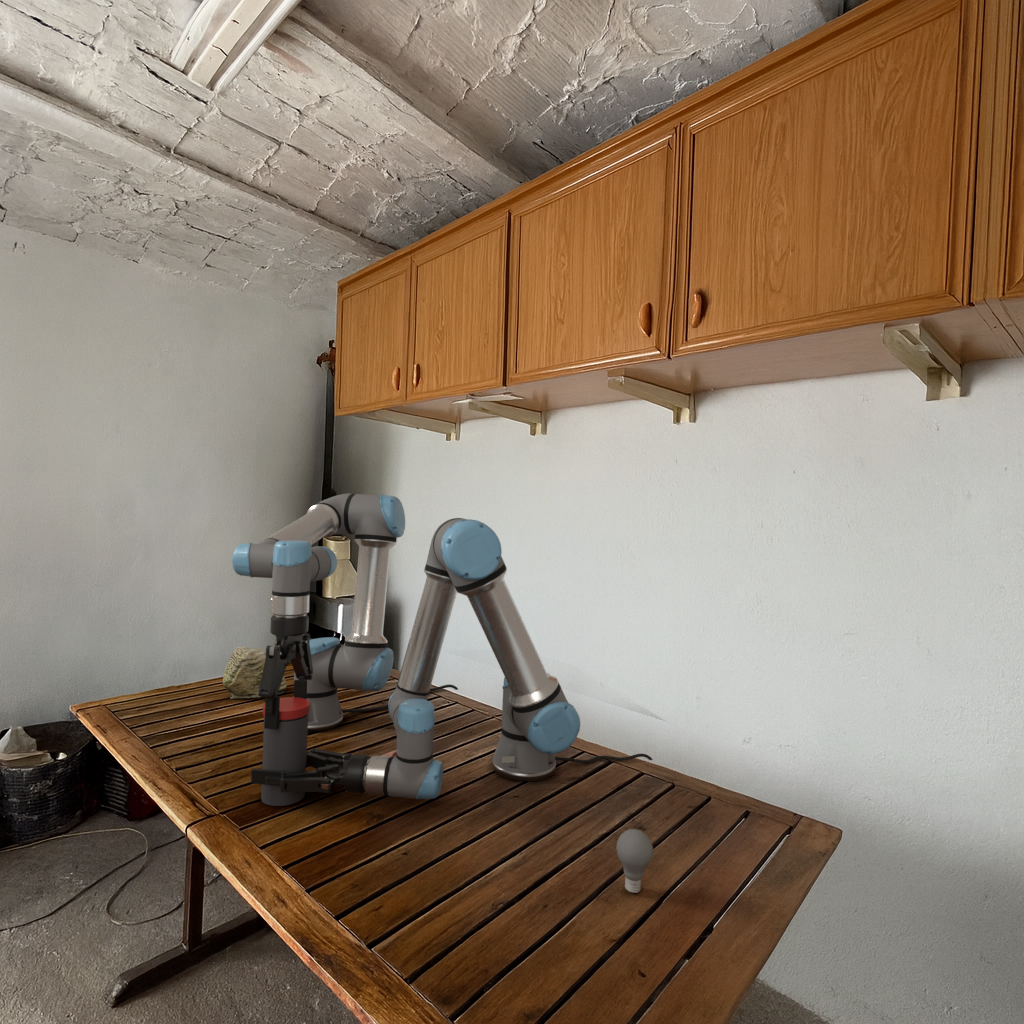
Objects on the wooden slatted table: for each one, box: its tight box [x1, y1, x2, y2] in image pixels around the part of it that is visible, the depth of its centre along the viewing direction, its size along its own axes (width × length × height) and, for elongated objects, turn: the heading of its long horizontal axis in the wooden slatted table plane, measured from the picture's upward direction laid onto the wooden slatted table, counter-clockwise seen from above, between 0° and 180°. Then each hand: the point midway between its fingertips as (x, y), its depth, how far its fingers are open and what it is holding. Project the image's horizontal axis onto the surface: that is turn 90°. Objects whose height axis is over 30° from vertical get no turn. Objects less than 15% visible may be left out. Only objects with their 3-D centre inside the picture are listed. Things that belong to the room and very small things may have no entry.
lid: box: [262, 696, 310, 720], centre depth 133 cm, size 9×9×2 cm
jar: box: [260, 714, 309, 807], centre depth 133 cm, size 9×9×19 cm
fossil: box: [222, 646, 288, 699], centre depth 198 cm, size 9×18×15 cm, turn 132°
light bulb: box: [615, 828, 654, 894], centre depth 106 cm, size 6×6×10 cm
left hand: (286, 718), depth 133 cm, fingers open, 11 cm apart
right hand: (263, 766), depth 134 cm, fingers closed on jar, 9 cm apart
